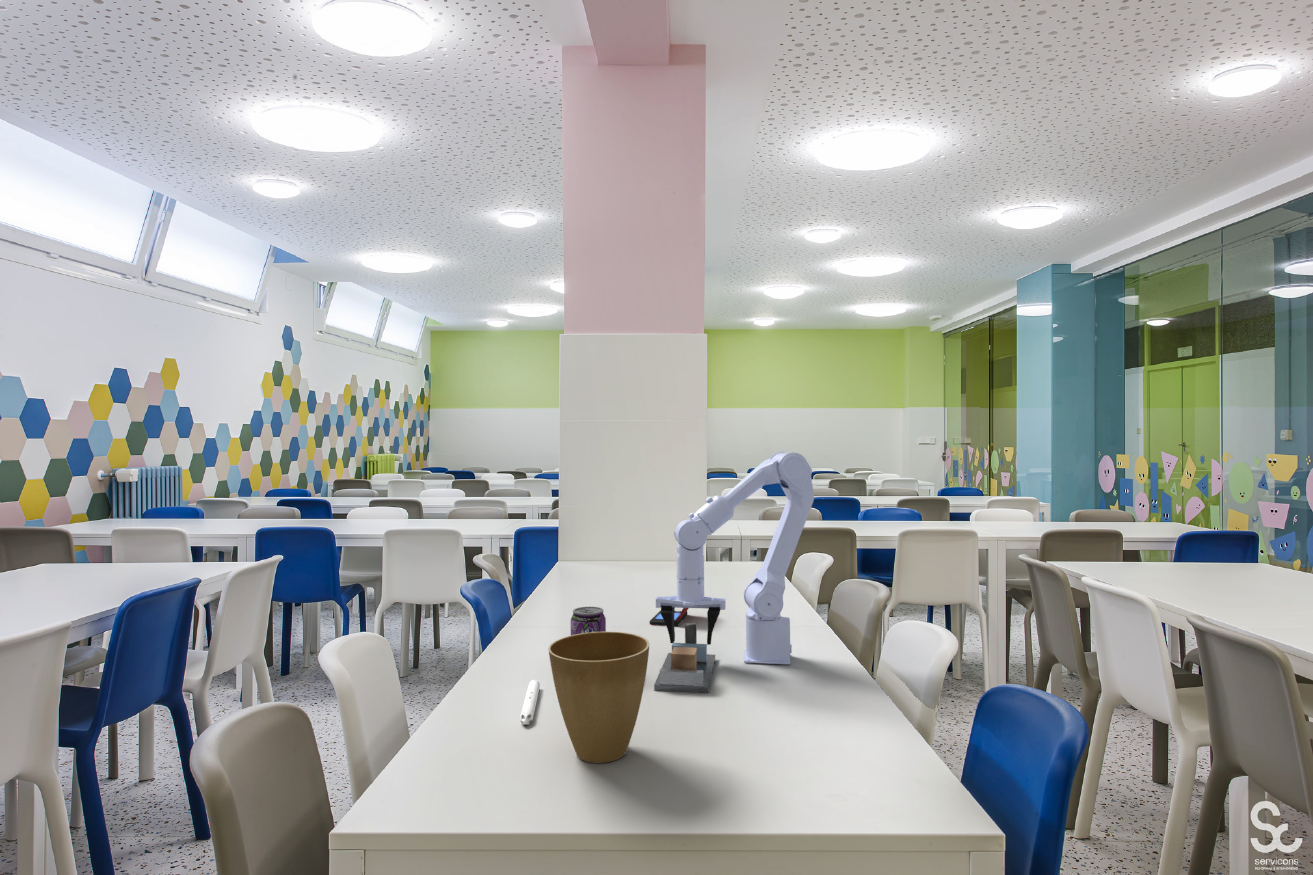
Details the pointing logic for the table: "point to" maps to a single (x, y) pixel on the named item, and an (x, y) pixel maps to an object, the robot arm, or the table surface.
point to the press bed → (685, 677)
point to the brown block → (684, 658)
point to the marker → (530, 702)
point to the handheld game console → (677, 618)
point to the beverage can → (587, 620)
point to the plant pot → (599, 690)
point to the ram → (693, 642)
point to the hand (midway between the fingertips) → (690, 642)
